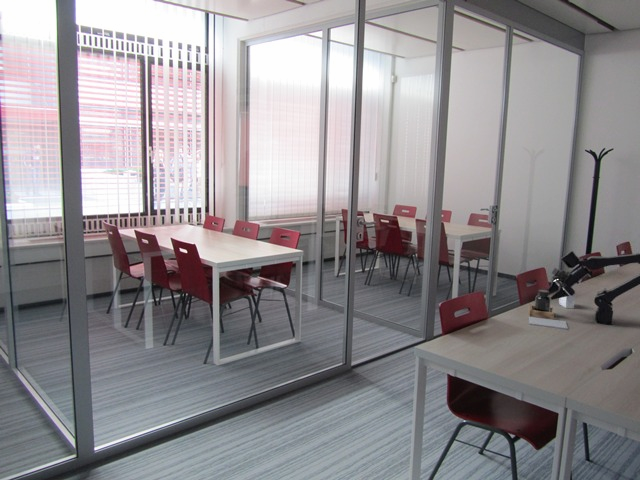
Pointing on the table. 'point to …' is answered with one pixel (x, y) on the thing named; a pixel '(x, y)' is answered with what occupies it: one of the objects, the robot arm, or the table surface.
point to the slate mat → (548, 322)
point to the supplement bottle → (542, 301)
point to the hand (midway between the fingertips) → (548, 296)
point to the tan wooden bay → (540, 313)
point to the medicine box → (567, 301)
